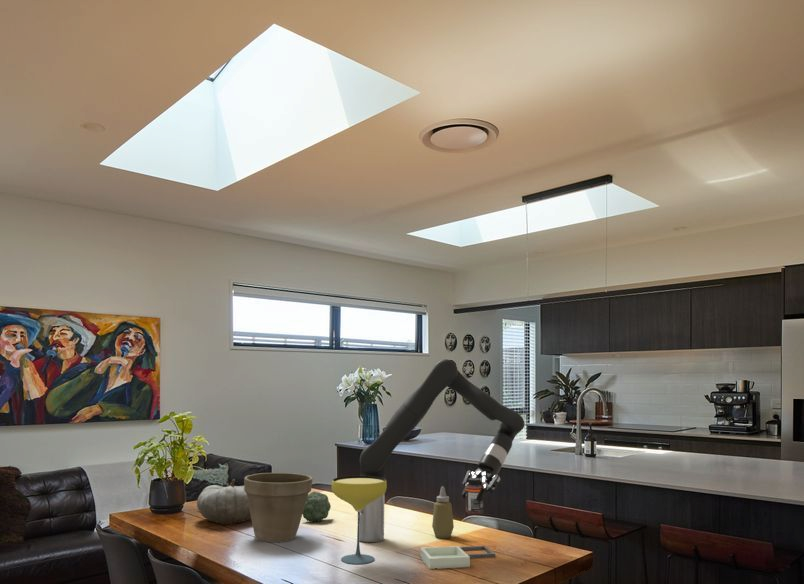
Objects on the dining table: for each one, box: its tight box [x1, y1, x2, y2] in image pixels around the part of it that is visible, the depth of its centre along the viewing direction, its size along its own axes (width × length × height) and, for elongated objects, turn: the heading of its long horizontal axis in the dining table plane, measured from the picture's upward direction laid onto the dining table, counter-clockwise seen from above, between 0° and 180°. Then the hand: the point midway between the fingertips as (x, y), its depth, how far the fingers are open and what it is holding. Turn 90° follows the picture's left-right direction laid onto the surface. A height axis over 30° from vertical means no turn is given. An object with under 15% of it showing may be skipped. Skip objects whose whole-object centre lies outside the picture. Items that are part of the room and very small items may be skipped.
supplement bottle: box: [465, 478, 484, 515], centre depth 211 cm, size 6×6×11 cm
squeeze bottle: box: [431, 486, 454, 539], centre depth 232 cm, size 8×8×18 cm
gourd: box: [196, 478, 252, 526], centre depth 253 cm, size 25×25×17 cm
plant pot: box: [243, 472, 313, 543], centre depth 228 cm, size 25×25×22 cm
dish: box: [419, 545, 471, 570], centre depth 198 cm, size 13×13×3 cm
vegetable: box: [302, 491, 332, 523], centre depth 257 cm, size 12×13×15 cm
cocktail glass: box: [331, 475, 388, 565], centre depth 201 cm, size 18×18×25 cm
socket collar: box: [459, 545, 496, 559], centre depth 208 cm, size 10×10×1 cm
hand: (471, 498), depth 209 cm, fingers closed on supplement bottle, 6 cm apart
